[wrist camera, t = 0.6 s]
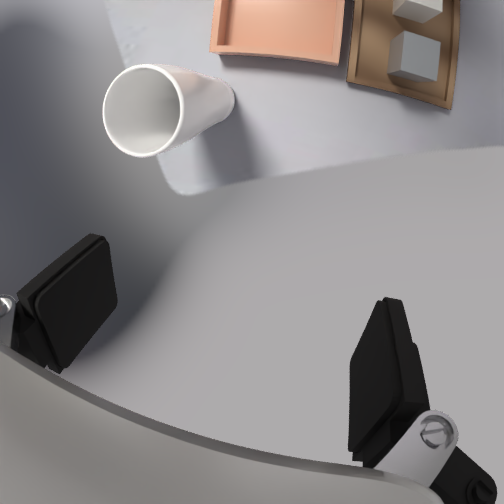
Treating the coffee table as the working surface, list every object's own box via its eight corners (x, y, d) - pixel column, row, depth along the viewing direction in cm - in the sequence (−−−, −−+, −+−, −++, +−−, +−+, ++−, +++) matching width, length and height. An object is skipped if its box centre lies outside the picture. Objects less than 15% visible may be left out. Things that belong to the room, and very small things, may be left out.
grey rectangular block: (390, 40, 23) (404, 30, 18) (421, 49, 23) (440, 42, 18) (386, 73, 25) (400, 69, 20) (417, 82, 25) (436, 81, 20)
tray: (356, -35, 20) (357, -39, 19) (456, -5, 18) (459, -8, 17) (346, 81, 27) (347, 81, 26) (446, 108, 26) (450, 109, 25)
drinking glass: (255, 95, 30) (205, 99, 17) (217, 141, 33) (150, 178, 20) (208, 59, 29) (131, 45, 16) (173, 106, 32) (87, 124, 19)
